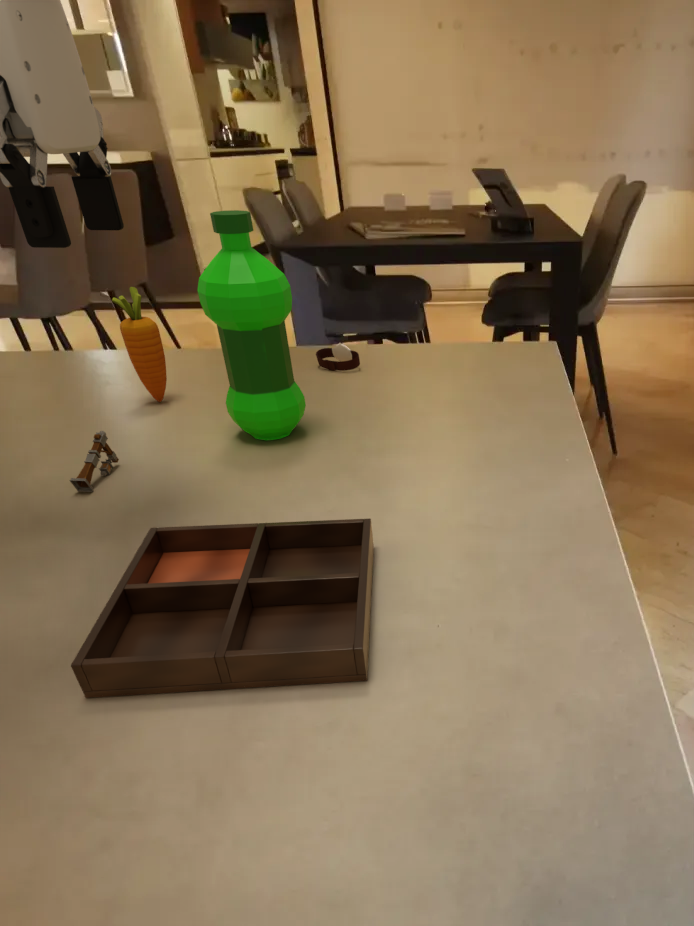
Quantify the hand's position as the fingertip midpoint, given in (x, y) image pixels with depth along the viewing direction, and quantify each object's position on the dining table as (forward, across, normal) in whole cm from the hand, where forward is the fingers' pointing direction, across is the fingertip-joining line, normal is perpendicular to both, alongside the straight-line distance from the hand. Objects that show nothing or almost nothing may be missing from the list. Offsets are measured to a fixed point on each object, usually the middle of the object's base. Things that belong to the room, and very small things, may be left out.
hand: (80, 237), depth 59 cm
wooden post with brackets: (+26, -8, -11) cm, 29 cm away
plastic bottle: (+26, -23, +6) cm, 35 cm away
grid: (+26, +18, +14) cm, 35 cm away
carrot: (+26, -35, -14) cm, 46 cm away
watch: (+26, -53, +9) cm, 59 cm away
